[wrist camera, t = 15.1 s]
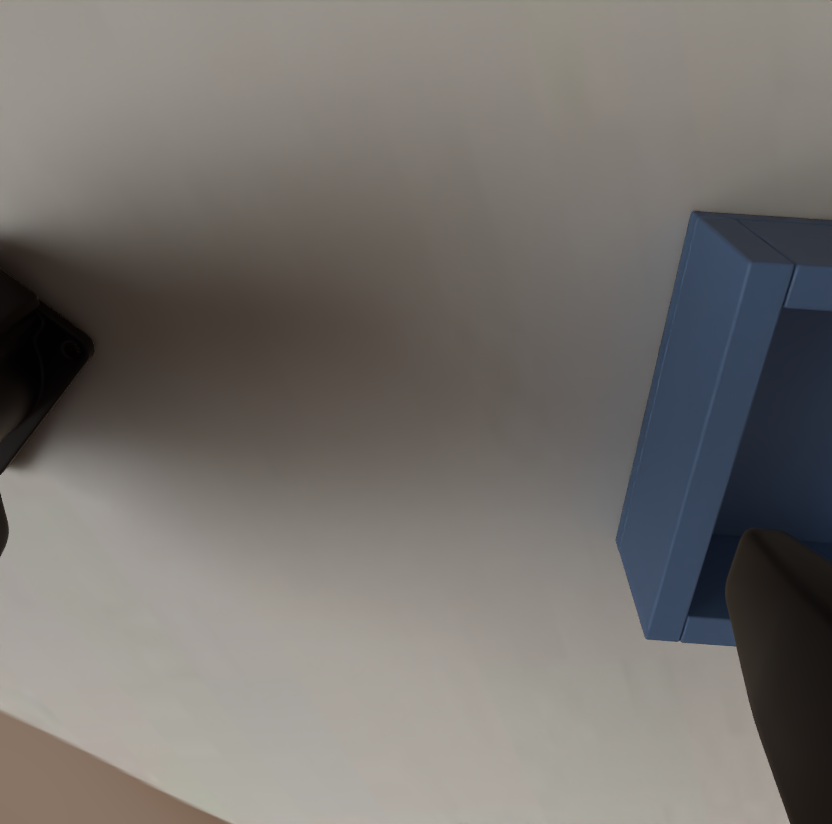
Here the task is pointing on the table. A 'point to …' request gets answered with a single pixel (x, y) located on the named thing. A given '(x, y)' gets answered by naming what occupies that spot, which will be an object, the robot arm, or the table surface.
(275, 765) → the table surface
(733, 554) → the box
